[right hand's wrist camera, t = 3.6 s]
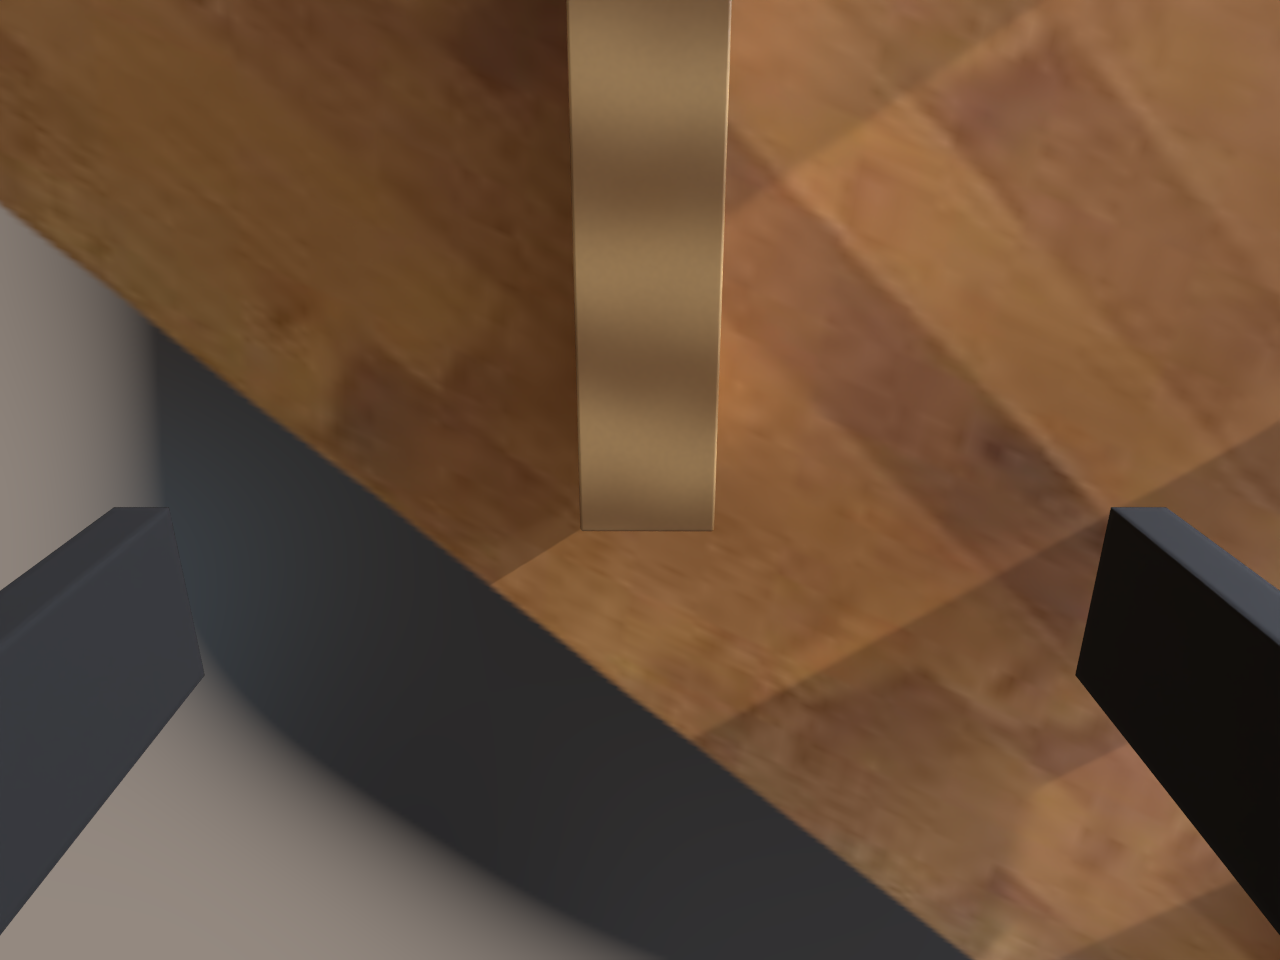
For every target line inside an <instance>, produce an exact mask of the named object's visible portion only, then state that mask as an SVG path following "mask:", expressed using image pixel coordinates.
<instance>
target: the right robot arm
mask: <svg viewBox="0 0 1280 960" xmlns="http://www.w3.org/2000/svg"><path fill="white" fill-rule="evenodd" d="M203 677H204V670H203V665H202V661H201V656H200V651H199V646H198V642H197V637H196V632H195V628H194V623H193V618H192V614H191V609H190V604H189V599H188V595H187V590H186V586H185V581H184V576H183V571H182V566H181V562H180V557H179V552H178V548H177V543H176V538H175V534H174V529H173V524H172V520H171V515H170V510H169V507H114V508H113V509H111V510H110V511H108V512H107V513H106V514H104V515H103V516H102V517H100V518H99V519H98V520H96V521H95V522H93V523H92V524H91V525H89V526H88V527H87V528H85V529H84V530H83V531H81V532H80V533H78V534H77V535H76V536H74V537H73V538H72V539H70V540H69V541H67V542H66V543H65V544H64V545H62V546H61V547H59V548H58V549H57V550H55V551H54V552H52V553H51V554H50V555H48V556H47V557H46V558H44V559H43V560H42V561H40V562H39V563H38V564H36V565H35V566H33V567H32V568H31V569H29V570H28V571H27V572H25V573H24V574H23V575H21V576H20V577H18V578H17V579H16V580H14V581H13V582H12V583H10V584H9V585H8V586H6V587H5V588H3V589H2V590H1V591H0V935H1V933H2V932H3V931H4V930H5V928H6V927H7V926H8V925H9V923H10V922H11V921H12V919H13V918H14V917H15V916H16V914H17V913H18V912H19V911H20V909H21V908H22V907H23V905H24V904H25V903H26V902H27V900H28V899H29V898H30V897H31V895H32V894H33V893H34V891H35V890H36V889H37V888H38V886H39V885H40V884H41V883H42V881H43V880H44V879H45V878H46V876H47V875H48V874H49V872H50V871H51V870H52V869H53V867H54V866H55V865H56V863H57V862H58V861H59V860H60V858H61V857H62V856H63V855H64V853H65V852H66V851H67V850H68V848H69V847H70V846H71V844H72V843H73V842H74V841H75V839H76V838H77V837H78V836H79V834H80V833H81V832H82V830H83V829H84V828H85V827H86V825H87V824H88V823H89V822H90V820H91V819H92V818H93V816H94V815H95V814H96V813H97V811H98V810H99V809H100V807H101V806H102V805H103V804H104V802H105V801H106V800H107V799H108V797H109V796H110V795H111V794H112V792H113V791H114V790H115V788H116V787H117V786H118V785H119V783H120V782H121V781H122V780H123V778H124V777H125V776H126V774H127V773H128V772H129V771H130V769H131V768H132V767H133V766H134V764H135V763H136V762H137V760H138V759H139V758H140V757H141V755H142V754H143V753H144V752H145V750H146V749H147V748H148V746H149V745H150V744H151V743H152V741H153V740H154V739H155V738H156V736H157V735H158V734H159V733H160V731H161V730H162V729H163V727H164V726H165V725H166V724H167V722H168V721H169V720H170V718H171V717H172V716H173V715H174V713H175V712H176V711H177V710H178V708H179V707H180V706H181V705H182V703H183V702H184V701H185V699H186V698H187V697H188V696H189V694H190V693H191V692H192V691H193V689H194V688H195V687H196V685H197V684H198V683H199V682H200V680H201V679H202V678H203ZM1076 677H1077V678H1078V679H1079V680H1080V682H1081V683H1082V684H1083V685H1084V687H1085V688H1086V689H1087V691H1088V692H1089V693H1090V694H1091V696H1092V697H1093V698H1094V699H1095V701H1096V702H1097V703H1098V705H1099V706H1100V707H1101V708H1102V710H1103V711H1104V712H1105V713H1106V715H1107V716H1108V717H1109V719H1110V720H1111V721H1112V722H1113V724H1114V725H1115V726H1116V727H1117V729H1118V730H1119V731H1120V733H1121V734H1122V735H1123V736H1124V738H1125V739H1126V740H1127V741H1128V743H1129V744H1130V745H1131V747H1132V748H1133V749H1134V750H1135V752H1136V753H1137V754H1138V755H1139V757H1140V758H1141V759H1142V761H1143V762H1144V763H1145V764H1146V766H1147V767H1148V768H1149V769H1150V771H1151V772H1152V773H1153V774H1154V776H1155V777H1156V778H1157V780H1158V781H1159V782H1160V783H1161V785H1162V786H1163V787H1164V788H1165V790H1166V791H1167V792H1168V794H1169V795H1170V796H1171V797H1172V799H1173V800H1174V801H1175V802H1176V804H1177V805H1178V806H1179V808H1180V809H1181V810H1182V811H1183V813H1184V814H1185V815H1186V816H1187V818H1188V819H1189V820H1190V822H1191V823H1192V824H1193V825H1194V827H1195V828H1196V829H1197V830H1198V832H1199V833H1200V834H1201V836H1202V837H1203V838H1204V839H1205V841H1206V842H1207V843H1208V844H1209V846H1210V847H1211V848H1212V850H1213V851H1214V852H1215V853H1216V855H1217V856H1218V857H1219V858H1220V860H1221V861H1222V862H1223V864H1224V865H1225V866H1226V867H1227V869H1228V870H1229V871H1230V872H1231V874H1232V875H1233V876H1234V878H1235V879H1236V880H1237V881H1238V883H1239V884H1240V885H1241V886H1242V888H1243V889H1244V890H1245V892H1246V893H1247V894H1248V895H1249V897H1250V898H1251V899H1252V900H1253V902H1254V903H1255V904H1256V906H1257V907H1258V908H1259V909H1260V911H1261V912H1262V913H1263V914H1264V916H1265V917H1266V918H1267V919H1268V921H1269V922H1270V923H1271V925H1272V926H1273V927H1274V928H1275V930H1276V931H1277V932H1278V933H1279V935H1280V591H1279V590H1278V589H1277V588H1275V587H1274V586H1272V585H1271V584H1270V583H1268V582H1267V581H1266V580H1264V579H1263V578H1262V577H1260V576H1259V575H1257V574H1256V573H1255V572H1253V571H1252V570H1251V569H1249V568H1248V567H1247V566H1245V565H1244V564H1242V563H1241V562H1240V561H1238V560H1237V559H1236V558H1234V557H1233V556H1232V555H1230V554H1229V553H1228V552H1226V551H1225V550H1223V549H1222V548H1221V547H1219V546H1218V545H1217V544H1215V543H1214V542H1213V541H1211V540H1210V539H1208V538H1207V537H1206V536H1204V535H1203V534H1202V533H1200V532H1199V531H1198V530H1196V529H1195V528H1193V527H1192V526H1191V525H1189V524H1188V523H1187V522H1185V521H1184V520H1183V519H1181V518H1180V517H1178V516H1177V515H1176V514H1174V513H1173V512H1172V511H1170V510H1169V509H1168V508H1166V507H1111V510H1110V515H1109V519H1108V524H1107V529H1106V533H1105V538H1104V543H1103V548H1102V552H1101V557H1100V562H1099V566H1098V571H1097V576H1096V581H1095V585H1094V590H1093V595H1092V599H1091V604H1090V609H1089V613H1088V618H1087V623H1086V628H1085V632H1084V637H1083V642H1082V646H1081V651H1080V656H1079V661H1078V665H1077V670H1076Z"/></svg>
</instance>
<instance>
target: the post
mask: <svg viewBox="0 0 1280 960" xmlns="http://www.w3.org/2000/svg"><path fill="white" fill-rule="evenodd" d="M731 10H732V0H566V15H567V52H568V89H569V126H570V163H571V199H572V236H573V273H574V310H575V347H576V384H577V421H578V458H579V495H580V528H581V530H582V531H713V530H714V514H715V484H716V455H717V425H718V395H719V366H720V336H721V306H722V277H723V247H724V217H725V188H726V158H727V128H728V99H729V69H730V39H731Z"/></svg>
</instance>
